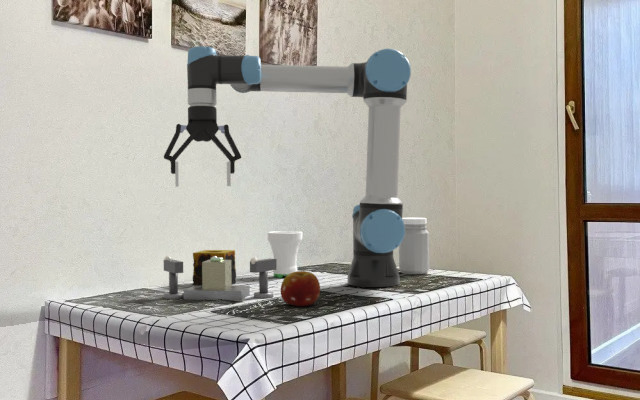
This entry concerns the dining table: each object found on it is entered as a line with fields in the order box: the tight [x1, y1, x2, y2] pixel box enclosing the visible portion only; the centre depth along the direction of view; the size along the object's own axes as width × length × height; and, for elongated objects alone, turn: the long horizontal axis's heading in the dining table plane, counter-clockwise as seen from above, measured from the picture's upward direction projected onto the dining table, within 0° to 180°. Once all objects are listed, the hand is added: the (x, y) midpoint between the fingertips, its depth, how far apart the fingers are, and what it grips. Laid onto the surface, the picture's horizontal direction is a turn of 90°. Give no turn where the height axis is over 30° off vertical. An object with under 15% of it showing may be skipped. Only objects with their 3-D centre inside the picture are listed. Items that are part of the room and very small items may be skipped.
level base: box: [183, 256, 251, 301], centre depth 175 cm, size 15×9×11 cm, turn 83°
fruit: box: [280, 270, 321, 307], centre depth 162 cm, size 10×9×8 cm
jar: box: [398, 217, 430, 275], centre depth 222 cm, size 10×10×18 cm
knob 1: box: [163, 255, 184, 300], centre depth 174 cm, size 8×5×10 cm, turn 33°
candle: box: [192, 249, 237, 286], centre depth 197 cm, size 10×10×10 cm
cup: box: [267, 230, 304, 279], centre depth 215 cm, size 11×11×14 cm
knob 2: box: [249, 256, 276, 299], centre depth 174 cm, size 8×5×10 cm, turn 145°
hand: (203, 186), depth 180 cm, fingers open, 13 cm apart
